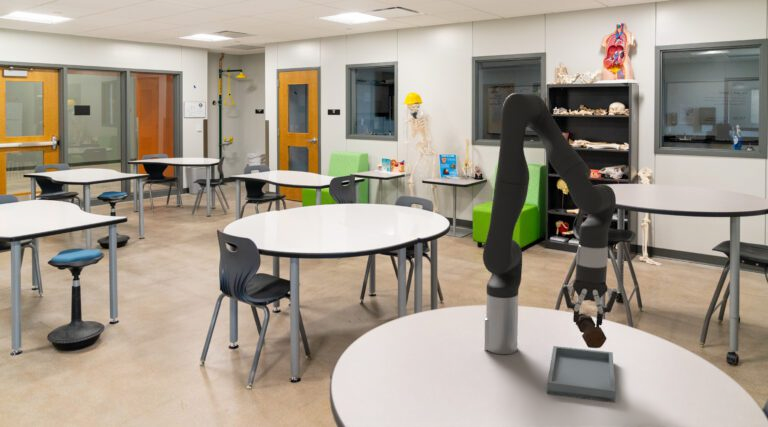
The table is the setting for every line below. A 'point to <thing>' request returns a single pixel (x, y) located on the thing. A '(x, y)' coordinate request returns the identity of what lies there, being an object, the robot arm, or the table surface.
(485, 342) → the robot arm
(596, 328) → the bolt
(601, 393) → the tray
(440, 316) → the table surface
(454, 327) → the table surface
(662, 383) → the table surface
